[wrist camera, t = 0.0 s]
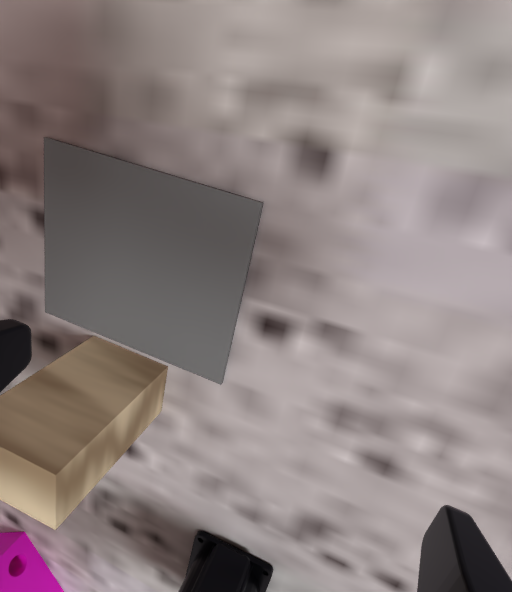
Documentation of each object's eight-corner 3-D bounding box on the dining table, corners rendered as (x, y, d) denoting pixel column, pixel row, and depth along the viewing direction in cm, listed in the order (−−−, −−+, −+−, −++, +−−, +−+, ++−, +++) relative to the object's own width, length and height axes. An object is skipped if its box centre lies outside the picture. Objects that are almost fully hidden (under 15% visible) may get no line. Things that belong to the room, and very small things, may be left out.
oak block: (161, 411, 29) (55, 530, 20) (91, 380, 30) (-37, 479, 22) (168, 366, 28) (55, 475, 19) (93, 335, 29) (-44, 423, 20)
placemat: (222, 383, 26) (221, 384, 26) (47, 311, 29) (45, 312, 29) (263, 202, 21) (262, 203, 21) (46, 137, 24) (43, 137, 24)
